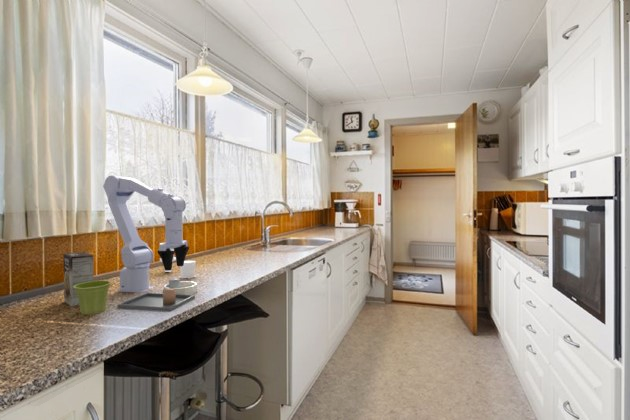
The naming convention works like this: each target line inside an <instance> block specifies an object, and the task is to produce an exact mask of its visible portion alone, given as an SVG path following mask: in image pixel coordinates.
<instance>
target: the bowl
mask: <svg viewBox="0 0 630 420" xmlns="http://www.w3.org/2000/svg"><path fill="white" fill-rule="evenodd" d="M197 286H198V284H197V282H196V281H192V280H191V281H189V280H188V281H187V280H184V281H183V280H182V281H181V280H180V288H175V289H176V294H184V295H195V294H196V293H197V292H198V290H197V288H198V287H197ZM166 288H169V282H168V283H166V284H164V286H163V289H166Z"/></svg>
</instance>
